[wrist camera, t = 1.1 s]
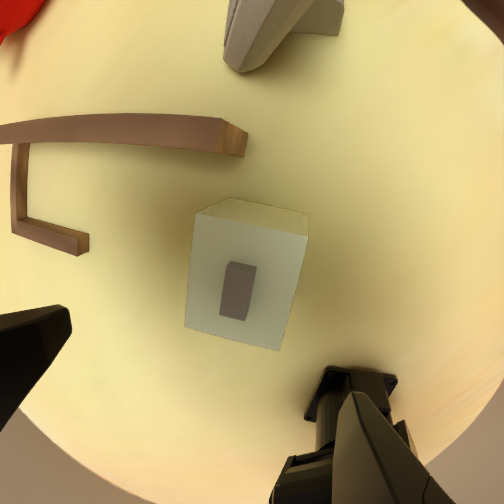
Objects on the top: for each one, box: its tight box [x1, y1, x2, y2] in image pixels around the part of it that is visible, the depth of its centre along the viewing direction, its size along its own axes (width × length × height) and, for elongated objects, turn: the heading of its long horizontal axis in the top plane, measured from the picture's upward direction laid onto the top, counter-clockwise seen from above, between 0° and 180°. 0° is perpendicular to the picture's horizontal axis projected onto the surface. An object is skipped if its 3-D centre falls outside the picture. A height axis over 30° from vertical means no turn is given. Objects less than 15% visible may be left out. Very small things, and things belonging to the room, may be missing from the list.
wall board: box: [0, 113, 248, 256], centre depth 17 cm, size 10×23×6 cm, turn 80°
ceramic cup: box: [0, 0, 46, 45], centre depth 10 cm, size 13×17×10 cm
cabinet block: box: [185, 198, 309, 351], centre depth 16 cm, size 6×5×7 cm
